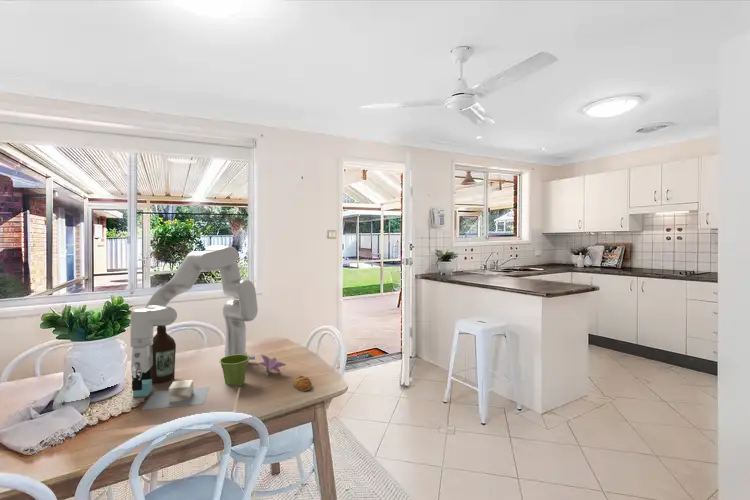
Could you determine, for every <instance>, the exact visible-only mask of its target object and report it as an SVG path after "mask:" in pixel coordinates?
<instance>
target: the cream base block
mask: <svg viewBox="0 0 750 500" xmlns="http://www.w3.org/2000/svg"><path fill="white" fill-rule="evenodd" d="M193 388H194V379H188V380H186V379H185V380H174V381H172V383H171V384H170V386H169V387H168V390H169V402H174V401H184V400H190V398H191V396H192V394H193Z"/></svg>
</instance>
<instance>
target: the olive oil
mask: <svg viewBox="0 0 750 500" xmlns="http://www.w3.org/2000/svg"><path fill="white" fill-rule="evenodd" d="M166 326H167V325H166ZM166 326H156V327H157V328H156V334H155V335H153V345H152V348H153V366H152V367H151V369H150V379H152V384H156V385H157V384H164V383H168V382H171V381H172V380H175V374H176V373H175V372H176V371H175V370H176V368H175V367H176V349H177V347H176V346H177V345H176V341H175V339H174V338H173V337H172V336H171V335H169V334H168V333H167V327H166Z"/></svg>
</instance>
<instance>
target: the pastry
mask: <svg viewBox="0 0 750 500" xmlns="http://www.w3.org/2000/svg"><path fill="white" fill-rule="evenodd" d="M293 387H294V388H295V389H296V388H297V390H298V389H299V390H298V391H300V390H301V391H300V392H307V391H310V390H311V389H312V382H311V380H310V379H309V378H308V377H307V376H305V375H299V376H297V377H296V378H294V380H293Z"/></svg>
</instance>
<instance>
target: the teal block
mask: <svg viewBox="0 0 750 500" xmlns="http://www.w3.org/2000/svg"><path fill="white" fill-rule="evenodd" d="M152 391H153V383H152V379H148V380H142V390H138V391H132V398H136V397H146V396H147V397H148V396H149V395H150V394H151V392H152Z"/></svg>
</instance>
